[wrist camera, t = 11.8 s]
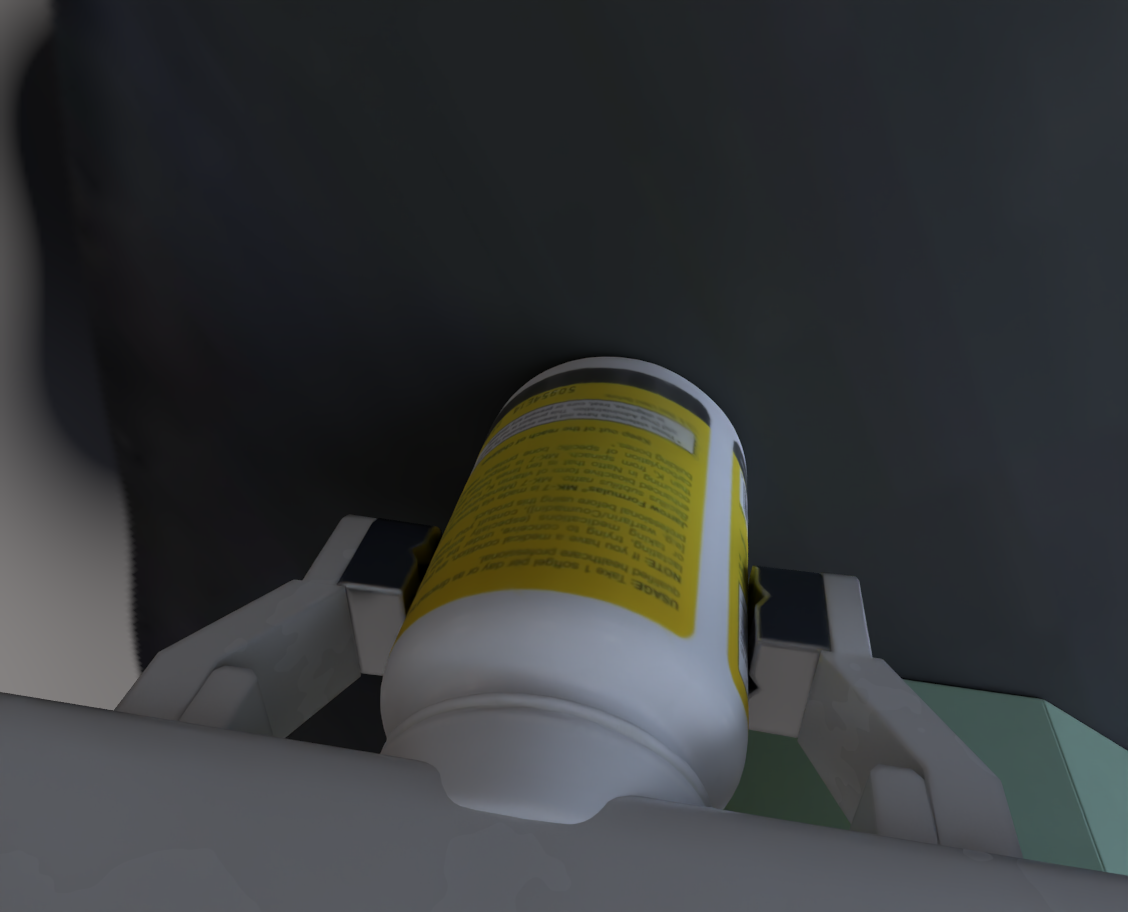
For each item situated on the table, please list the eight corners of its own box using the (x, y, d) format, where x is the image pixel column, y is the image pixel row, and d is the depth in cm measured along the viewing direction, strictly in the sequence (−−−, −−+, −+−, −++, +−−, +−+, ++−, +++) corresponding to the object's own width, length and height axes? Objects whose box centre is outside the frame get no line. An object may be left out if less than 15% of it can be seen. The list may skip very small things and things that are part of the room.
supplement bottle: (441, 427, 16) (210, 843, 9) (647, 298, 14) (549, 718, 7) (593, 593, 18) (495, 1049, 11) (797, 502, 15) (839, 1002, 8)
